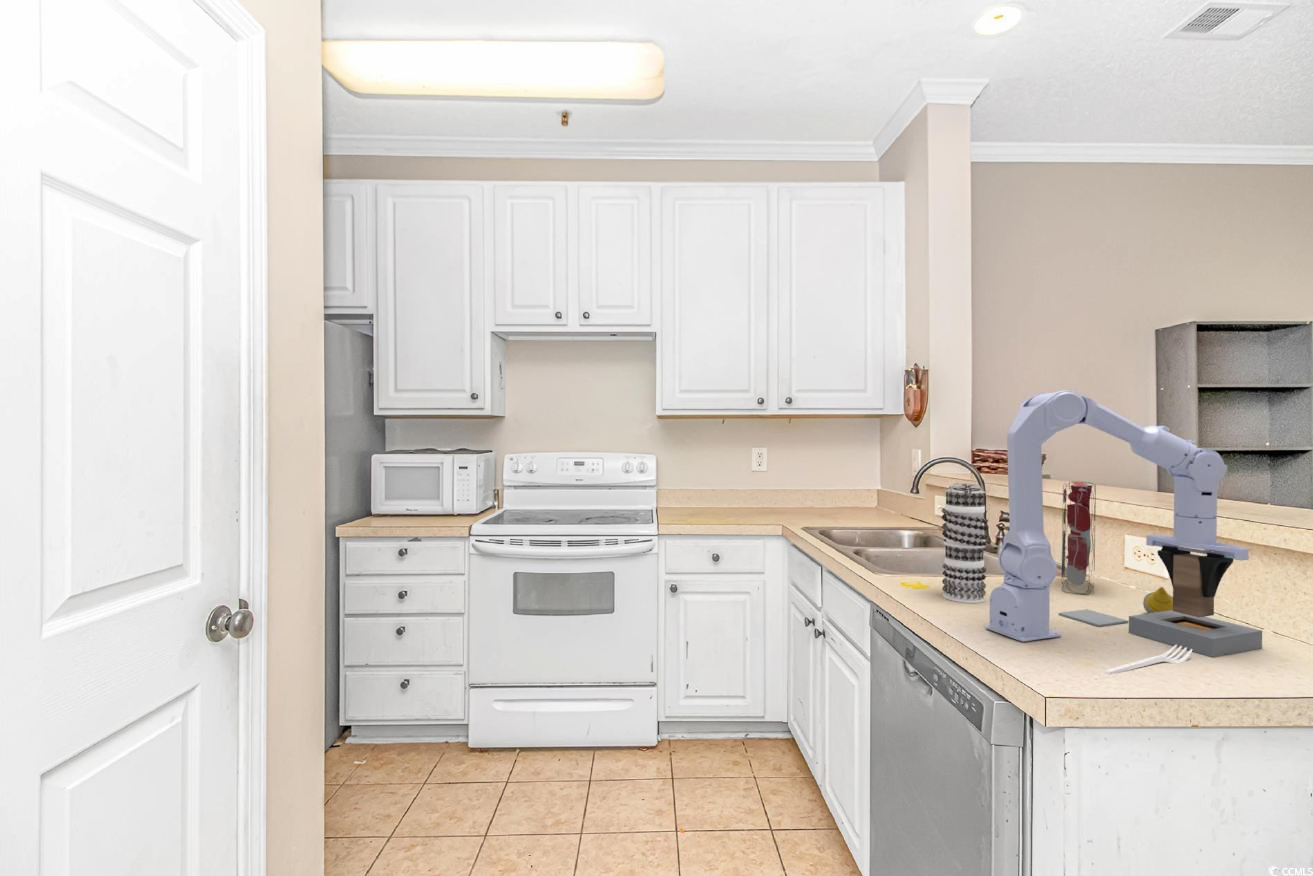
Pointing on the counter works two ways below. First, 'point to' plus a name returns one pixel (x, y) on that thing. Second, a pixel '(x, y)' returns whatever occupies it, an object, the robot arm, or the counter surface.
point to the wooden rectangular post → (1189, 587)
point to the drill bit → (1158, 601)
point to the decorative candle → (964, 543)
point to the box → (1078, 533)
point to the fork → (1153, 660)
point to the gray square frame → (1196, 633)
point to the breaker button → (1193, 626)
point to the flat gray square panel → (1093, 618)
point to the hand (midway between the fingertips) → (1193, 593)
